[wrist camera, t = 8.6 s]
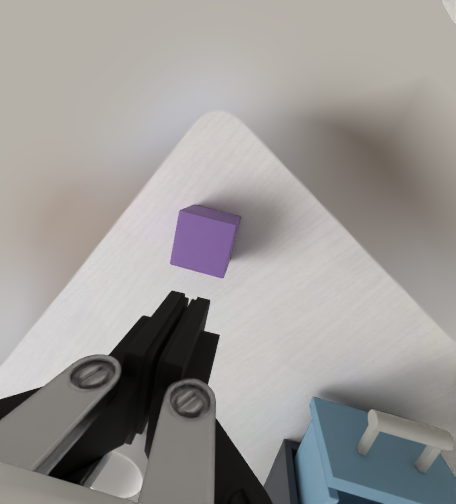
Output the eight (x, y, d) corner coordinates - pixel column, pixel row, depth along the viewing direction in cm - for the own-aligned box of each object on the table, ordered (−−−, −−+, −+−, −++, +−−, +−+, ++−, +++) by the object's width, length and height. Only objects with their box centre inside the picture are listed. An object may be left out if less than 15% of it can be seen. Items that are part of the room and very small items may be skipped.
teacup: (180, 422, 30) (166, 464, 26) (155, 472, 33) (139, 518, 29) (104, 389, 30) (77, 426, 26) (86, 442, 33) (59, 483, 29)
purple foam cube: (194, 204, 23) (179, 210, 18) (241, 216, 22) (237, 225, 18) (185, 249, 24) (169, 264, 20) (229, 261, 24) (223, 279, 19)
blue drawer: (327, 363, 24) (355, 436, 17) (444, 396, 24) (520, 485, 17) (275, 481, 30) (280, 573, 23) (369, 510, 29) (404, 614, 22)
